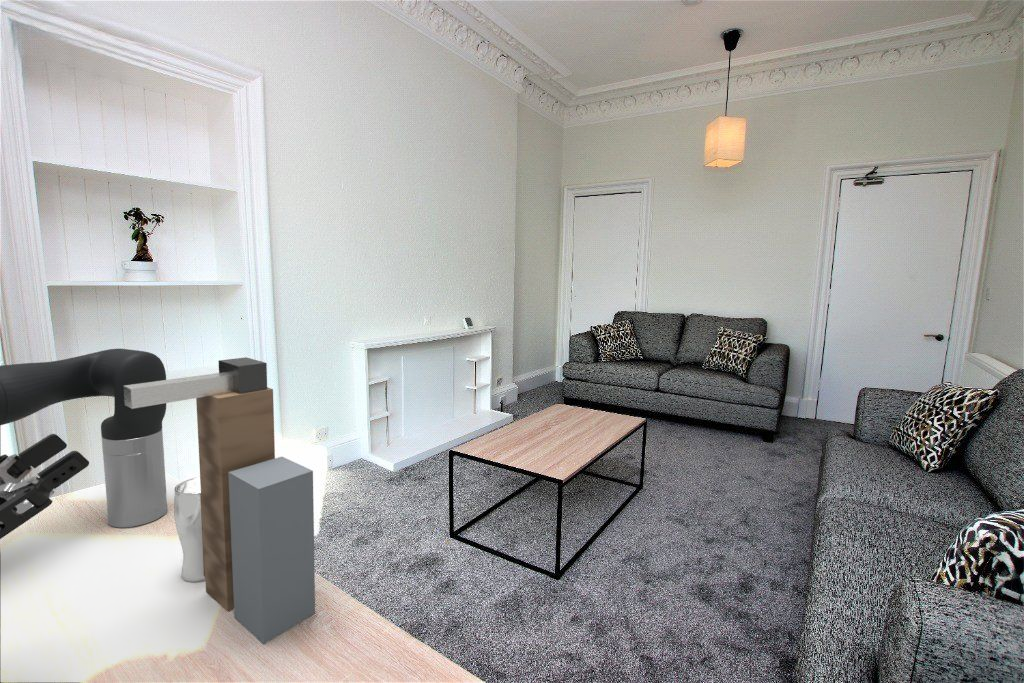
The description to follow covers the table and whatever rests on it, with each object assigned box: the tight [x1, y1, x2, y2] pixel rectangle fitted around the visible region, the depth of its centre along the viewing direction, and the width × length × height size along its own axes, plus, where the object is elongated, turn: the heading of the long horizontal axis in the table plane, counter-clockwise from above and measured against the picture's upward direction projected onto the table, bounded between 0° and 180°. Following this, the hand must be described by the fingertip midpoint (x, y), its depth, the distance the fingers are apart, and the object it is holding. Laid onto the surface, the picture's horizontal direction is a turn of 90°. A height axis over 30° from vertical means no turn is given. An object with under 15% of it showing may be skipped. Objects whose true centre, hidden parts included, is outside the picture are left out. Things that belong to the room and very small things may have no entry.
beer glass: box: [173, 476, 205, 583], centre depth 78 cm, size 7×7×15 cm
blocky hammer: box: [123, 356, 268, 409], centre depth 66 cm, size 6×16×4 cm, turn 145°
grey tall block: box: [228, 456, 316, 645], centre depth 68 cm, size 8×8×22 cm
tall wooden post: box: [195, 386, 276, 613], centre depth 73 cm, size 7×8×32 cm
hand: (71, 447), depth 56 cm, fingers open, 8 cm apart
